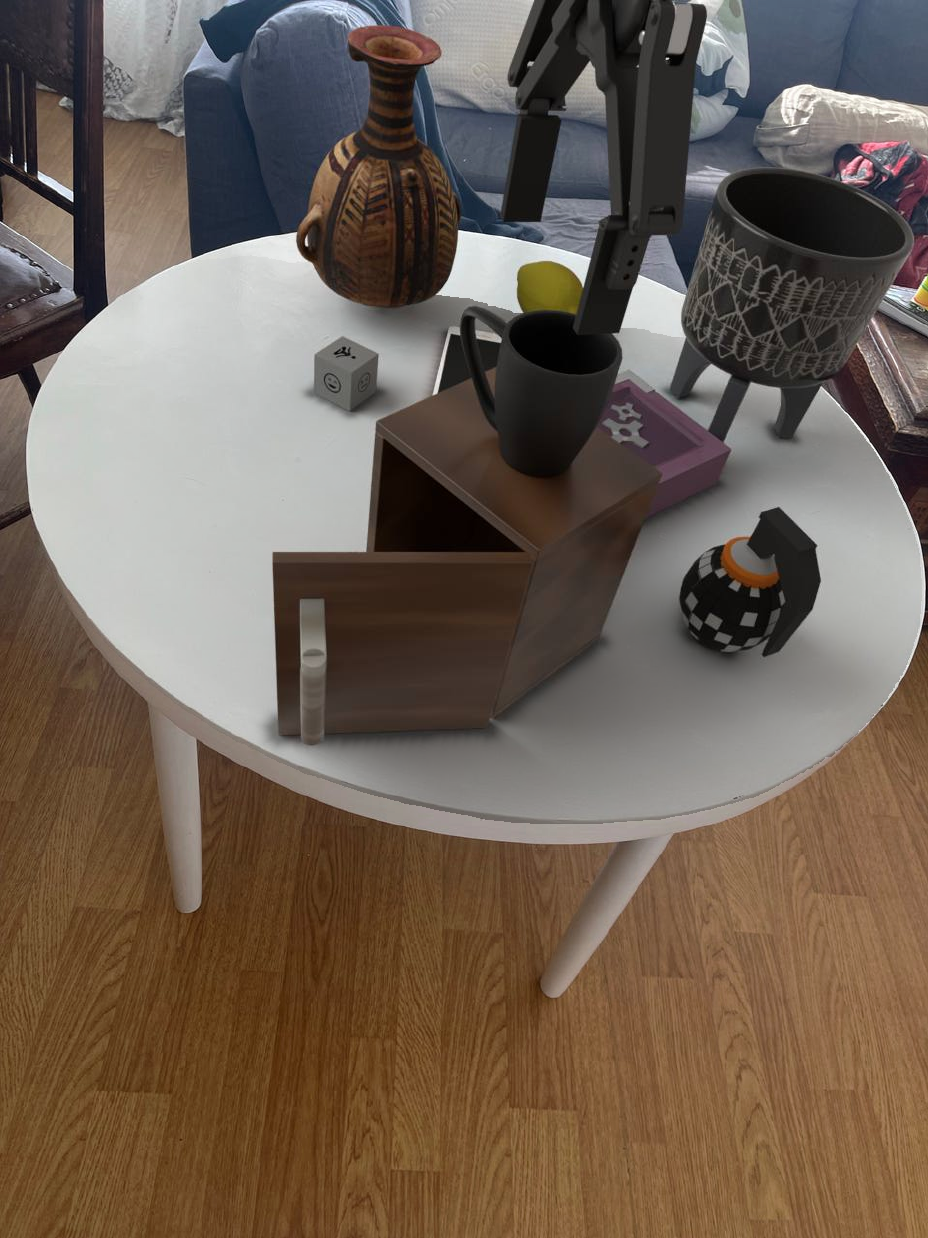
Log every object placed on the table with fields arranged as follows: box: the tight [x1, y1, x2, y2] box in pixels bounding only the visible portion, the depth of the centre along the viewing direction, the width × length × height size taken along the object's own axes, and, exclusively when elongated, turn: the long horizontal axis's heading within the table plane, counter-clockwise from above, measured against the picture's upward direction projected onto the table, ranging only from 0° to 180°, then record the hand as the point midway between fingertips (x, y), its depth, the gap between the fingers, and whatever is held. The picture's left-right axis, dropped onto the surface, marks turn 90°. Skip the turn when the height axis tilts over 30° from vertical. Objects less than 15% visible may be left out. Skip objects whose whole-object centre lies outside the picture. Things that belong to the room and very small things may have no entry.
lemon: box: [516, 260, 584, 314], centre depth 115 cm, size 11×8×8 cm
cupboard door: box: [271, 551, 533, 746], centre depth 64 cm, size 7×17×20 cm, turn 98°
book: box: [597, 369, 733, 519], centre depth 97 cm, size 25×16×5 cm, turn 128°
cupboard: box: [365, 367, 663, 719], centre depth 75 cm, size 14×17×20 cm
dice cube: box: [313, 335, 380, 412], centre depth 101 cm, size 5×5×5 cm
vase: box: [295, 24, 462, 309], centre depth 104 cm, size 21×18×30 cm
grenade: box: [678, 506, 822, 658], centre depth 80 cm, size 11×10×15 cm
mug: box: [459, 305, 623, 477], centre depth 65 cm, size 8×12×10 cm
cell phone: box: [432, 325, 502, 396], centre depth 107 cm, size 9×18×1 cm, turn 173°
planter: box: [668, 166, 915, 443], centre depth 98 cm, size 20×20×26 cm
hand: (555, 271), depth 57 cm, fingers open, 13 cm apart
